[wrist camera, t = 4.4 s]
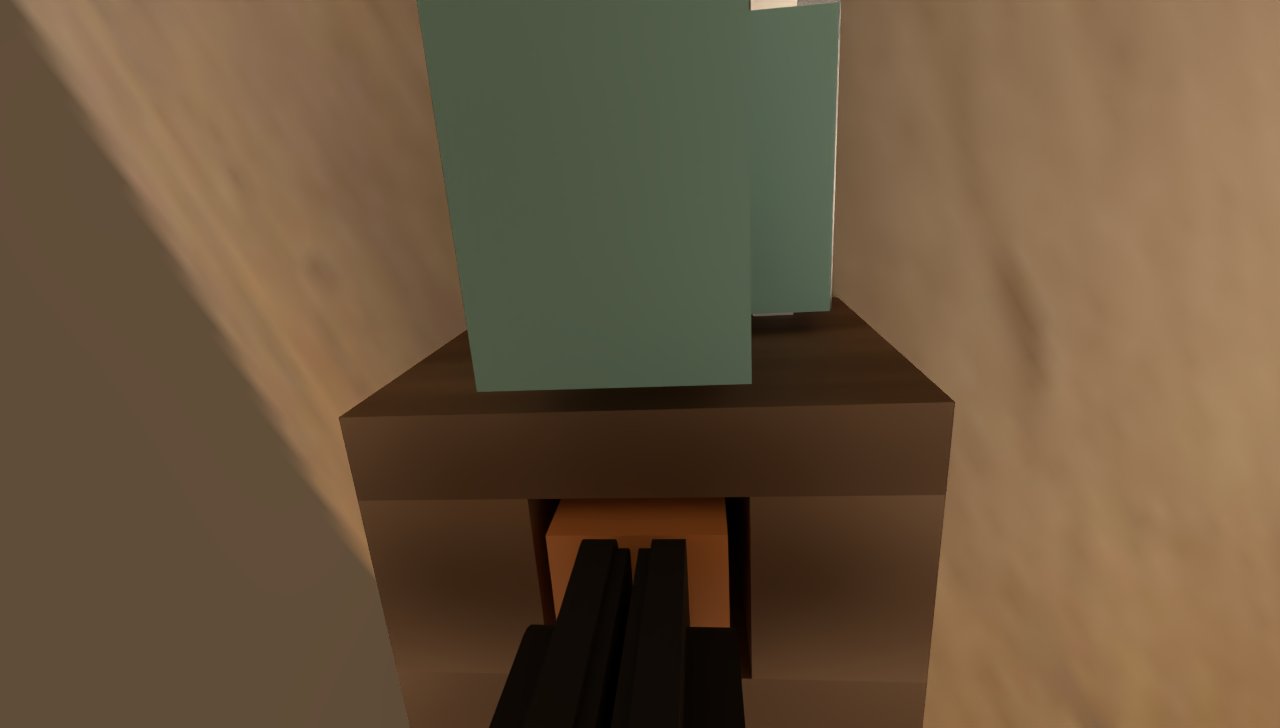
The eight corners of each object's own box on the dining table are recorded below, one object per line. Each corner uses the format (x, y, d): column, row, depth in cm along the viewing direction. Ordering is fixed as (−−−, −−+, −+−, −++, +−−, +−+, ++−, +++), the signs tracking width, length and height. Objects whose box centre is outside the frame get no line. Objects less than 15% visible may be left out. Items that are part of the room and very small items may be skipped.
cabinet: (491, 312, 18) (338, 417, 10) (838, 298, 17) (955, 401, 9) (520, 519, 20) (411, 733, 12) (830, 517, 19) (920, 749, 11)
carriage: (463, 53, 14) (208, -75, 7) (823, 21, 13) (981, -168, 6) (498, 311, 15) (329, 430, 8) (816, 297, 15) (930, 416, 8)
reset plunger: (611, 378, 18) (545, 535, 10) (714, 375, 17) (727, 535, 10) (618, 470, 18) (563, 679, 11) (716, 469, 18) (730, 683, 11)
